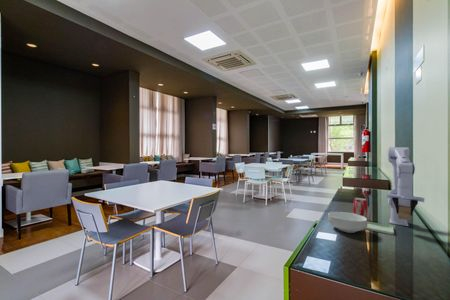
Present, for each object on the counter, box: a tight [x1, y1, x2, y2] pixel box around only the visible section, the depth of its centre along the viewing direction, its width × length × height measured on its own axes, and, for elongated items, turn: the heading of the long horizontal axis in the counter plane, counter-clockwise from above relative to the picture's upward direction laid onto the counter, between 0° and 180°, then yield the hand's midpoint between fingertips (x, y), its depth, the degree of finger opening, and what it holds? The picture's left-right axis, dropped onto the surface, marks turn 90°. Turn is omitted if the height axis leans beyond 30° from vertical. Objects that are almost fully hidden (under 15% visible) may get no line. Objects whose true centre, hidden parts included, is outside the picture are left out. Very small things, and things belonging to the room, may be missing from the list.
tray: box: [363, 220, 395, 236], centre depth 112 cm, size 12×12×1 cm
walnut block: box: [398, 205, 412, 221], centre depth 109 cm, size 4×4×6 cm
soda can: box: [352, 197, 368, 220], centre depth 127 cm, size 7×7×12 cm
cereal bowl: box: [327, 211, 368, 234], centre depth 109 cm, size 17×17×7 cm
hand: (404, 214), depth 110 cm, fingers closed on walnut block, 4 cm apart
